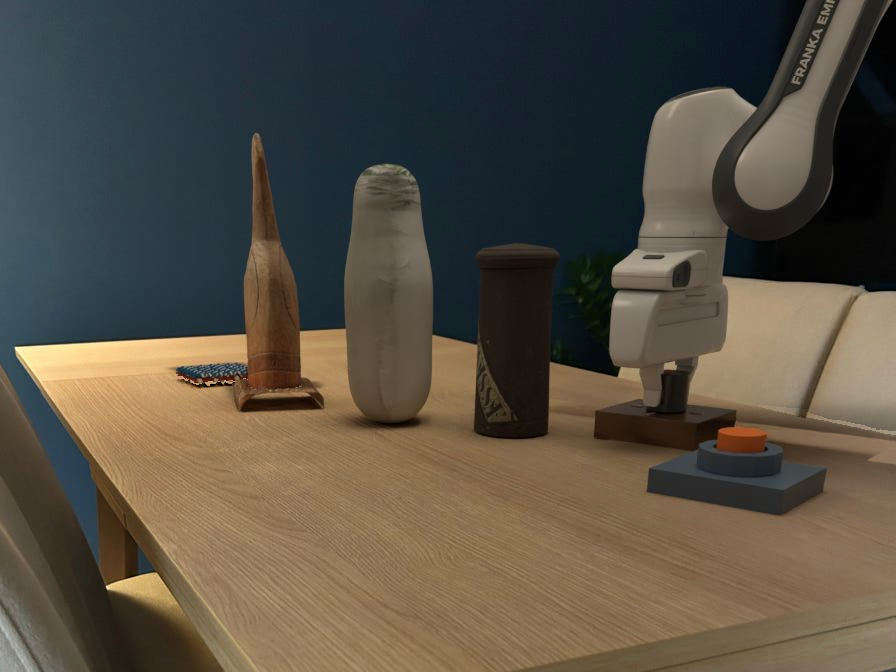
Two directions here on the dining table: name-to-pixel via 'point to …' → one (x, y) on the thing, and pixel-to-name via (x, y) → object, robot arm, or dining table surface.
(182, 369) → the woven mat
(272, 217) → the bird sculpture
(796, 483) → the housing
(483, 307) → the container
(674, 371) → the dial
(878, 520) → the dining table surface
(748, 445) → the orange push button
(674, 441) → the dial panel
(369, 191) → the grey rounded cylinder
